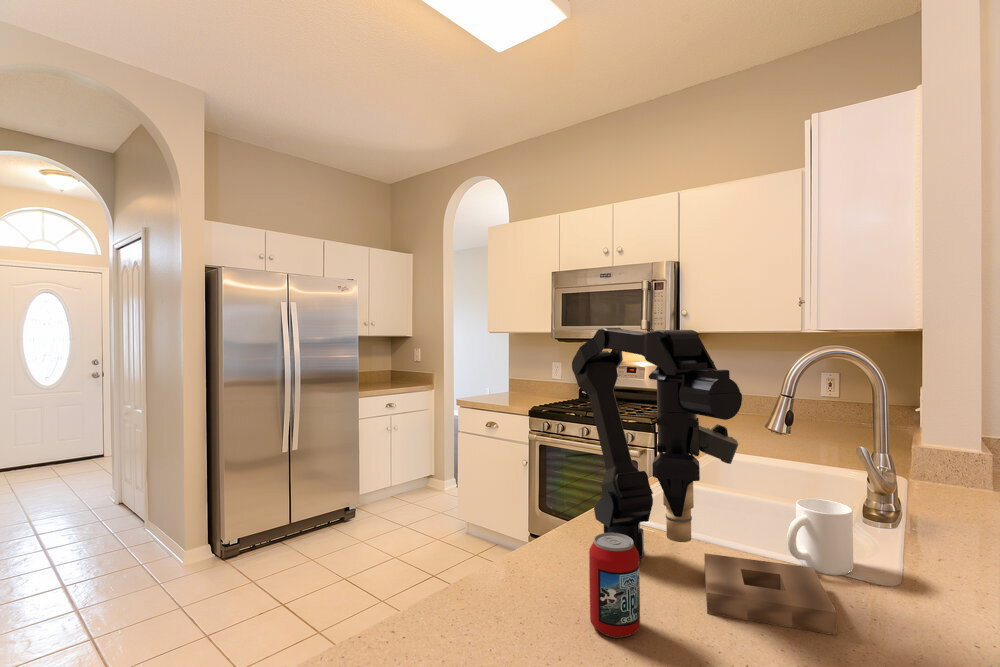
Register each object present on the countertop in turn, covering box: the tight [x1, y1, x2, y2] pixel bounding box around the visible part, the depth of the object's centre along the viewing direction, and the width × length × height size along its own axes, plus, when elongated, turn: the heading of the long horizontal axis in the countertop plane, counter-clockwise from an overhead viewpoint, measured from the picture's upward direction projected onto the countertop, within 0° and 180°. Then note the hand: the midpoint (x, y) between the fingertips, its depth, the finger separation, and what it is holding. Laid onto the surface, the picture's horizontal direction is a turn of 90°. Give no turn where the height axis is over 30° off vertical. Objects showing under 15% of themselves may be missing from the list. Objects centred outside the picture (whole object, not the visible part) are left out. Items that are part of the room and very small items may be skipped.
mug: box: [786, 498, 854, 576], centre depth 87 cm, size 12×8×10 cm
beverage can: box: [588, 532, 641, 639], centre depth 69 cm, size 7×7×12 cm
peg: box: [662, 481, 694, 543], centre depth 78 cm, size 4×4×10 cm
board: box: [703, 553, 838, 636], centre depth 76 cm, size 16×14×3 cm
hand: (678, 511), depth 78 cm, fingers closed on peg, 4 cm apart
